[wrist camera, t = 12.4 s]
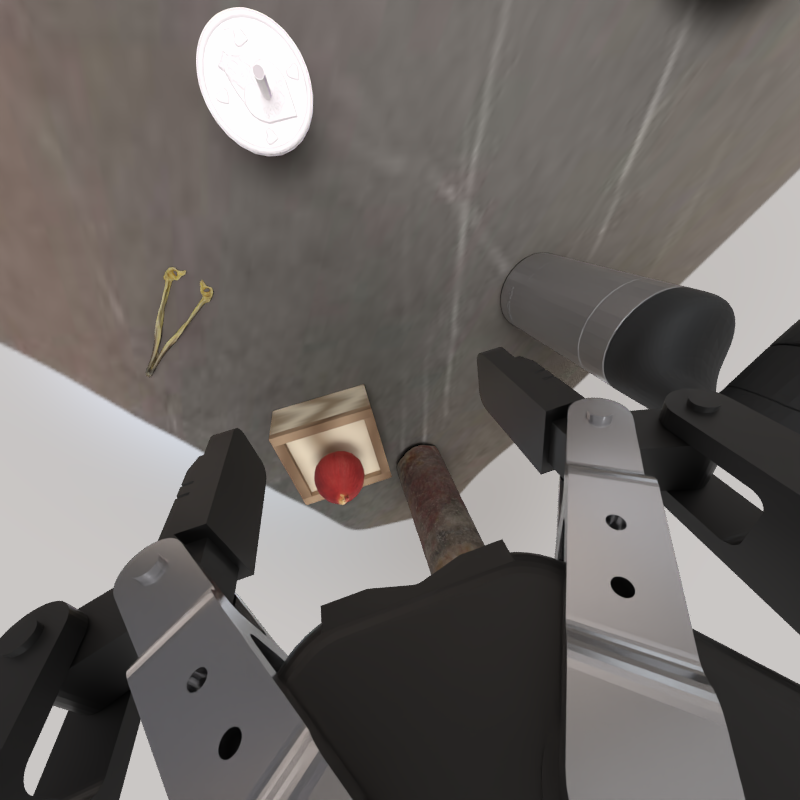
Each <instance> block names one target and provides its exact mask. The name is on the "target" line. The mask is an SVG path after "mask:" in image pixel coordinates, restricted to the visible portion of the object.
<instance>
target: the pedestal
mask: <svg viewBox="0 0 800 800" xmlns="http://www.w3.org/2000/svg"><path fill="white" fill-rule="evenodd" d="M269 441H270V442H271V444H272V446H273V448H274V449H275V451H276V453H277V455H278V456H279V458H280V460H281V462H282V463H283V465H284V467H285V469H286V470H287V472H288V474H289V476H290V477H291V479H292V481H293V483H294V485H295V486H296V488H297V490H298V492H299V493H300V495H301V497H302V499H303V500H304V502H305V504H306V505H308V504H311V503H314V502H317V501H320V500H323V499H324V498H323V497H322V496H321V495H320V494H319V492H318V490H317V488H316V485H315V481H314V475H315V469H316V466H317V465H318V463H319V461H320V460H321V459H322V458H323V457H324V456H326V455H328V454H329V453H332V452H336V451H347V452H350V453H352V454H353V455H355V456H356V457H357V458H358V459H359V460H360V461H361V463H362V466H363V468H364V474H365V475H364V484H363V486H366V485H369V484H372V483H375V482H378V481H381V480H384V479H387V478H390V477H392V476H391V472H390V469H389V466H388V462H387V459H386V456H385V452H384V449H383V446H382V442H381V439H380V436H379V432H378V429H377V426H376V422H375V419H374V416H373V412H372V409H371V406H370V403H369V400H368V396H367V393H366V390H365V387H364V384H363V385H359V386H356V387H353V388H349V389H346V390H342V391H339V392H336V393H332V394H329V395H326V396H322V397H319V398H315V399H312V400H309V401H305V402H302V403H299V404H295V405H292V406H288V407H285V408H282V409H278V410H275V411H273V414H272V421H271V428H270V435H269Z"/></svg>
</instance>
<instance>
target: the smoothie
mask: <svg viewBox="0 0 800 800" xmlns="http://www.w3.org/2000/svg"><path fill="white" fill-rule="evenodd" d="M196 67H197V76H198V81H199V85H200V89H201V92H202V95H203V97H204V100H205V102H206V104H207V106H208V108H209V110H210V112H211V114H212V115H213V117H214V118H215V120H216V122H217V123H218V124H219V125H220V127H221V128H222V129H223V130H224V132H225V133H226V134H227V135H228V136H229V137H230V138H231V139H232V140H234V141H235V142H236V143H237V144H239V145H240V146H241V147H243V148H245V149H247V150H249V151H251V152H253V153H255V154H259V155H264V156H279V155H283V154H285V153H288V152H290V151H292V150H294V149H295V148H296V147H297V146H298V145H299V144H300V143H301V142H302V141H303V139H304V137H305V135H306V133H307V131H308V130H309V127H310V123H311V119H312V115H313V93H312V86H311V81H310V77H309V73H308V70H307V67H306V64H305V62H304V59H303V57H302V55H301V53H300V51H299V50H298V48H297V46H296V45H295V43H294V42H293V40H292V39H291V38H290V36H289V35H288V34H287V33H286V32H285V31H284V29H283V28H282V27H280V26H279V25H278V24H277V23H276V22H275V21H273V20H272V19H271V18H269V17H268V16H266V15H264V14H262V13H260V12H258V11H255V10H252V9H248V8H242V7H237V8H229V9H226V10H223V11H221V12H219V13H218V14H216V15H215V16H214V17H213V18H212V19H211V20H210V21H209V22H208V23H207V24H206V26H205V28H204V29H203V31H202V34H201V36H200V39H199V42H198V47H197V55H196Z"/></svg>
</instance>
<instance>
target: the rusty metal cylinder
mask: <svg viewBox="0 0 800 800" xmlns="http://www.w3.org/2000/svg"><path fill="white" fill-rule="evenodd" d="M397 471H398V475H399V478H400V481H401V484H402V488H403V490H404V494H405V496H406V499H407V502H408V505H409V508H410V511H411V514H412V517H413V520H414V523H415V527H416V530H417V533H418V535H419V538H420V541H421V544H422V548H423V551H424V554H425V557H426V560H427V563H428V566H429V569H430V572H431V575H432V574H433V573H435V572H436V571H438V570H439V569H440V568H442V567H443V566H445V565H446V564H447V563H449V562H450V561H452V560H453V559H455V558H456V557H457V556H459V555H461V554H464V553H466V552H469V551H472V550H474V549H477V548H480V547H483V546H485V545H484V543H483V541H482V539H481V537H480V535H479V533H478V531H477V529H476V527H475V525H474V523H473V521H472V519H471V517H470V515H469V513H468V511H467V508H466V506H465V504H464V502H463V501H462V499H461V497H460V494H459V492H458V490H457V488H456V486H455V484H454V481H453V479H452V477H451V475H450V473H449V471H448V469H447V467H446V465H445V463H444V461H443V459H442V457H441V455H440V453H439V451H438V449H437V448H436V447H435V446H429V445H418V446H416V447H413V448H412V449H411V450H409V451H408V452H407V453H406V454H405V455H404V457H403V458H402V459H401V460H400V461H399V463H398V465H397Z"/></svg>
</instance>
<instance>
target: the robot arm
mask: <svg viewBox="0 0 800 800" xmlns="http://www.w3.org/2000/svg"><path fill="white" fill-rule="evenodd" d="M501 309H502V312H503V314H504V316H505V318H506V319H507V320H508V321H509V322H510V323H511V324H513V325H515V326H516V327H518V328H519V329H521V330H522V331H524V332H526V333H527V334H529V335H530V336H532V337H533V338H535V339H537V340H538V341H540V342H541V343H543V344H545V345H546V346H548V347H549V348H551V349H553V350H554V351H556V352H557V353H559V354H561V355H562V356H564V357H565V358H567V359H569V360H570V361H572V362H573V363H575V364H577V365H578V366H580V367H581V368H583V369H585V370H586V371H588V372H589V373H591V374H593V375H594V376H596V377H598V378H599V379H601V380H602V381H604V382H605V383H607V384H609V385H610V386H612V387H613V388H615V389H616V390H618V391H620V392H621V393H623V394H625V395H626V396H628V397H630V398H631V399H633V400H635V401H636V402H638V403H640V404H642V405H644V406H645V407H647V408H648V410H636V411H629V410H628V409H627V408H626V407H625V406H623V405H621V404H620V403H617V402H615V401H612V400H608V399H603V398H586V399H585V398H584V397H583V396H581V395H580V394H578V393H577V392H576V391H575V390H573V389H572V388H570V387H569V386H568V385H566V384H565V383H564V382H562V381H561V380H559V379H558V378H557V377H554V376H553V374H551V373H550V372H549V371H547V370H546V371H545V369H544V368H543V367H542V366H540V365H539V364H538V363H536V362H535V361H533V360H529V359H526V358H523V357H520V356H519V357H514V356H512V355H511V354H510V353H509V352H507V351H506V350H505V349H503V348H502V347H498V348H495V349H492V350H489V351H486V352H482V353H479V354H478V357H477V365H478V379H479V392H480V397H481V400H482V403H483V405H484V407H485V408H486V410H487V411H488V412H489V413H490V414H491V416H492V417H493V418H494V419H495V420H496V421H497V423H498V424H499V425H500V426H501V427H502V429H503V430H504V431H505V432H506V433H507V435H508V436H509V437H510V438H511V439H512V440H513V442H514V443H515V444H516V445H517V446H518V447H519V449H520V450H521V451H522V452H523V453H524V455H525V456H526V457H527V458H528V459H529V461H530V462H531V463H532V464H533V465H534V467H535V468H536V469H537V470H538V471H539V472H540V474H544V473H546V472H550V471H552V470H556V471H557V473H558V474H559V475H560V478H559V494H558V495H559V496H558V516H557V517H558V518H557V537H556V549H555V559H554V558H551V557H547V556H543V555H540V554H533V553H524V552H511V553H510V552H509V550H508V549H507V547H506V545H505V543H504V542H503V540H499V541H496V542H494V543H491V544H488V545H486V546H483V547H480V548H477V549H474V550H472V551H469V552H466V553H464V554H461V555H459V556H457V557H456V558H455V559H453V560H452V561H450V562H449V563H447V564H446V565H445V566H443V567H442V568H440V569H439V570H438V571H436V572H435V573H433V574H432V575H431V576H429V577H428V578H426V579H425V580H424V581H422V582H420V583H419V584H416V585H409V586H397V587H385V588H373V589H366V590H363V591H360V592H358V593H355V594H352V595H350V596H347V597H344V598H341V599H339V600H336V601H333V602H330V603H328V604H325V605H322V606H321V622H322V623H321V624H320V625H318V626H317V627H316V628H315V629H313V630H312V631H311V632H310V633H309V634H308V635H307V636H305V637H304V639H303V640H302V641H301V642H300V643H299V644H298V645H297V646H296V647H295V648H294V650H293V651H292V652H291V653H290V655H289V656H287V654H286V653H285V652H284V651H283V650H282V649H281V648H280V647H279V646H278V645H277V644H276V642H275V641H274V640H273V639H272V637H271V636H270V635H269V634H268V632H267V631H266V630H265V629H264V627H263V626H262V625H261V623H260V622H259V621H258V620H257V619H256V617H255V616H254V615H253V613H252V612H251V611H250V609H249V608H248V607H247V606H246V605H245V603H244V602H243V601H242V599H241V598H240V597H239V596H238V595H237V594H236V593H235V589H236V582H237V580H240V579H243V578H245V577H248V576H251V575H254V569H255V562H256V554H257V547H258V539H259V532H260V524H261V516H262V509H263V501H264V494H265V486H266V472H265V468H264V465H263V463H262V461H261V460H260V458H259V456H258V455H257V453H256V452H255V450H254V449H253V447H252V446H251V444H250V442H249V441H248V439H247V438H246V436H245V435H244V433H243V432H242V431H241V430H240V429H238V428H236V429H232V430H229V431H226V432H223V433H220V434H216V435H213V436H212V437H211V438H210V440H209V443H208V445H207V448H206V451H205V453H204V455H202V456H199V457H198V459H197V460H196V461H195V462H194V463H193V465H192V466H191V467H190V468H189V469H188V471H187V473H186V475H185V478H184V480H183V483H182V487H180V489H179V492H178V494H177V499H175V501H174V504H173V506H172V509H171V511H170V513H169V516H168V518H167V521H166V523H165V525H164V528H163V530H162V532H161V535H160V537H159V539H158V541H157V542H155V543H153V544H151V545H149V546H147V547H146V548H144V549H143V550H142V551H140V552H139V553H138V554H137V555H135V556H134V557H133V558H132V559H131V560H130V561H129V562H128V563H127V565H126V566H125V567H124V568H123V570H122V571H121V572H120V574H119V576H118V578H117V579H116V582H115V585H114V588H113V589H111V590H109V591H107V592H106V593H104V594H103V595H101V596H99V597H97V598H96V599H94V600H93V601H91V602H89V603H87V604H86V605H84V606H82V607H81V608H79V609H76V608H74V607H73V606H71V605H69V604H67V603H65V602H63V601H55V602H51V603H48V604H45V605H43V606H41V607H39V608H37V609H35V610H33V611H32V612H30V613H29V614H27V615H26V616H24V617H23V618H22V619H21V620H19V621H18V622H17V623H16V624H14V625H13V626H12V627H11V628H10V629H9V630H8V631H7V632H6V633H5V634H4V635H3V636H2V637H1V638H0V800H119V798H120V794H121V791H122V787H123V783H124V780H125V775H126V772H127V768H128V765H129V761H130V757H131V753H132V750H133V746H134V742H135V738H136V735H137V731H138V727H139V724H140V720H141V722H142V724H143V727H144V730H145V733H146V736H147V739H148V741H149V744H150V747H151V750H152V753H153V756H154V759H155V761H156V765H157V767H158V770H159V773H160V776H161V779H162V782H163V784H164V787H165V790H166V793H167V796H168V799H169V800H800V684H798V683H795V682H794V681H792V680H790V679H788V678H786V677H784V676H782V675H780V674H779V673H777V672H775V671H773V670H771V669H769V668H767V667H765V666H763V665H761V664H759V663H757V662H755V661H753V660H751V659H750V658H748V657H746V656H744V655H742V654H740V653H738V652H736V651H734V650H732V649H730V648H729V647H727V646H725V645H723V644H721V643H719V642H717V641H715V640H713V639H711V638H709V637H707V636H705V635H704V634H701V633H700V632H698V631H696V630H694V629H692V626H691V622H690V618H689V614H688V609H687V605H686V601H685V596H684V592H683V588H682V583H681V579H680V575H679V570H678V567H677V562H676V557H675V553H674V549H673V544H672V540H671V536H670V532H669V527H668V523H667V519H666V514H665V510H664V506H665V507H666V508H667V509H668V510H669V511H670V512H671V513H672V514H673V515H674V516H675V517H677V519H678V520H679V521H680V522H681V523H683V524H684V525H685V526H686V527H687V528H688V529H689V530H690V531H691V532H692V533H693V534H694V535H695V536H696V537H697V538H698V539H700V541H702V542H703V543H704V544H705V545H706V546H707V547H708V548H709V549H710V550H711V551H712V552H713V553H714V554H715V555H716V556H717V557H718V558H720V559H721V560H722V561H723V562H724V563H725V564H726V565H727V566H728V567H729V568H730V569H731V570H732V571H733V572H734V573H735V574H736V575H738V577H739V578H741V579H742V580H743V581H744V582H745V583H746V584H747V585H748V586H749V587H750V588H751V589H752V590H753V591H754V592H755V593H757V595H758V596H760V597H761V598H762V599H763V600H764V601H765V602H766V603H767V604H768V605H769V606H770V607H771V608H772V609H773V610H774V611H775V612H776V613H778V614H779V615H780V616H781V617H782V618H783V619H784V620H785V621H786V622H787V623H788V624H789V625H790V626H791V627H792V628H793V629H794V630H795V631H796V632H797V633H799V634H800V320H798V321H797V322H796V323H795V324H794V325H792V326H791V327H790V328H789V329H788V330H787V331H786V332H785V333H784V334H782V335H781V336H780V337H779V338H778V339H777V340H776V341H775V342H774V343H772V344H771V346H770V347H768V348H767V349H766V350H765V351H764V352H763V353H762V354H761V355H760V356H759V357H757V358H756V359H755V360H754V361H753V362H752V363H751V364H750V365H749V366H748V367H747V368H746V369H745V370H743V371H742V372H741V373H740V374H739V375H738V376H737V377H736V378H735V379H734V380H733V381H732V382H731V383H729V384H728V385H727V386H726V388H725V389H723V390H722V391H721V392H719V393H717V392H716V384H717V379H718V375H719V371H720V368H721V366H722V364H723V361H724V359H725V357H726V355H727V352H728V350H729V347H730V345H731V342H732V339H733V335H734V329H735V316H734V312H733V309H732V308H731V306H730V305H729V303H728V302H727V301H726V300H724V299H722V298H721V297H719V296H717V295H715V294H712V293H709V292H705V291H701V290H697V289H693V288H689V287H684V286H680V285H677V284H673V283H668V282H664V281H660V280H656V279H651V278H647V277H643V276H639V275H635V274H631V273H627V272H623V271H619V270H615V269H611V268H607V267H603V266H599V265H595V264H591V263H587V262H583V261H578V260H574V259H571V258H567V257H563V256H558V255H554V254H550V253H537V254H533V255H531V256H529V257H527V258H525V259H524V260H522V261H521V262H520V263H518V265H517V266H516V267H515V268H514V269H513V270H512V271H511V273H510V274H509V276H508V277H507V279H506V281H505V283H504V286H503V289H502V293H501ZM717 465H718V466H720V467H721V468H722V469H724V470H725V471H727V472H728V473H730V474H731V475H732V476H734V477H735V478H737V479H738V480H739V481H741V482H742V483H743V484H745V485H746V486H748V487H749V488H751V489H752V490H753V491H754V492H755V493H756V494H757V495H758V496H759V498H760V499H761V501H762V503H763V507H764V511H761V510H760V509H759V508H757V507H756V506H755V505H753V504H752V503H751V502H749V501H748V500H747V499H745V498H744V497H743V496H741V495H740V494H739V493H737V492H736V491H735V490H733V489H732V488H731V487H729V486H728V485H727V484H725V483H724V482H723V481H721V480H720V479H719V478H717V477H716V476H715V475H713V472H714V470H715V469H716V467H717ZM663 505H664V506H663ZM52 706H56V707H59V708H63V709H66V710H69V711H68V713H67V715H66V718H65V720H64V723H63V725H62V727H61V730H60V732H59V735H58V737H57V739H56V742H55V744H54V747H53V749H52V752H51V754H50V756H49V759H48V761H47V764H46V767H45V768H44V771H43V773H42V776H41V778H40V781H39V783H38V785H37V788H36V790H35V793H34V795H33V796H30V795H29V794H28V793H27V792H26V790H25V788H24V782H23V780H24V771H25V767H26V764H27V762H28V759H29V757H30V755H31V753H32V751H33V748H34V746H35V744H36V742H37V739H38V737H39V735H40V733H41V731H42V728H43V726H44V724H45V721H46V719H47V717H48V715H49V713H50V711H51V708H52Z"/></svg>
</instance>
